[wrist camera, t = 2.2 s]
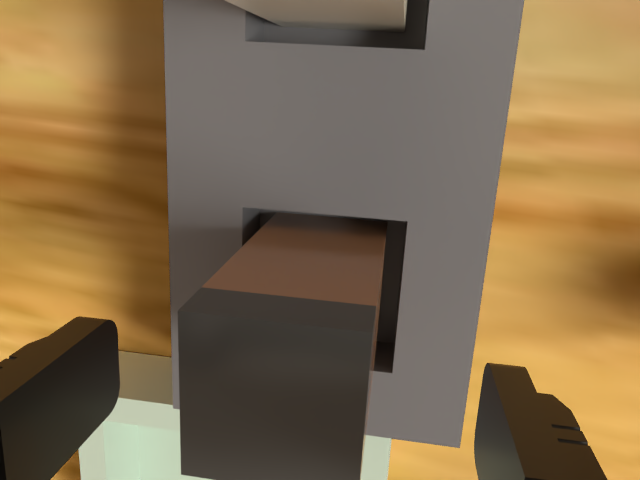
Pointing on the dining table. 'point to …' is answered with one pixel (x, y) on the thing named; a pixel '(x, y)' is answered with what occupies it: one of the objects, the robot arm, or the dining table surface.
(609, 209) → the dining table surface
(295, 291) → the block
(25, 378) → the robot arm
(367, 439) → the parts tray
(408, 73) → the block
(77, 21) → the dining table surface
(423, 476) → the dining table surface
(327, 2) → the block
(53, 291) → the dining table surface
